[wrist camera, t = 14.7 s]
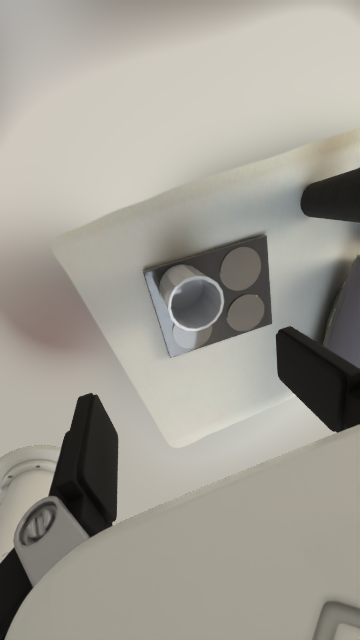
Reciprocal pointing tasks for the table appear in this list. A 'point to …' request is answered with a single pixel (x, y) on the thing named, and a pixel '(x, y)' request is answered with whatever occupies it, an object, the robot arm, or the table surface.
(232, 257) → the hob
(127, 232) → the table surface
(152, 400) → the table surface
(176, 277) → the pot
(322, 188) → the drinking cup
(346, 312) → the bluetooth speaker
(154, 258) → the table surface
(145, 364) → the table surface
